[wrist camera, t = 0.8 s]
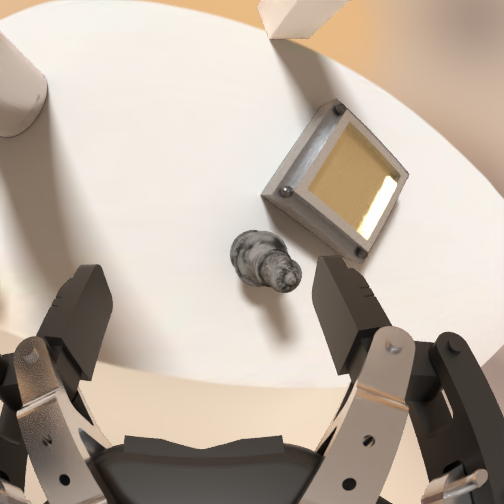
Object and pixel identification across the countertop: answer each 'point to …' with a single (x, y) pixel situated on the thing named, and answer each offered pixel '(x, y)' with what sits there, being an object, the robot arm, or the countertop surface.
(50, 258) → the countertop surface
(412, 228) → the countertop surface
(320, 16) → the milk
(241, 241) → the grey stone figure
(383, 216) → the grey square box
